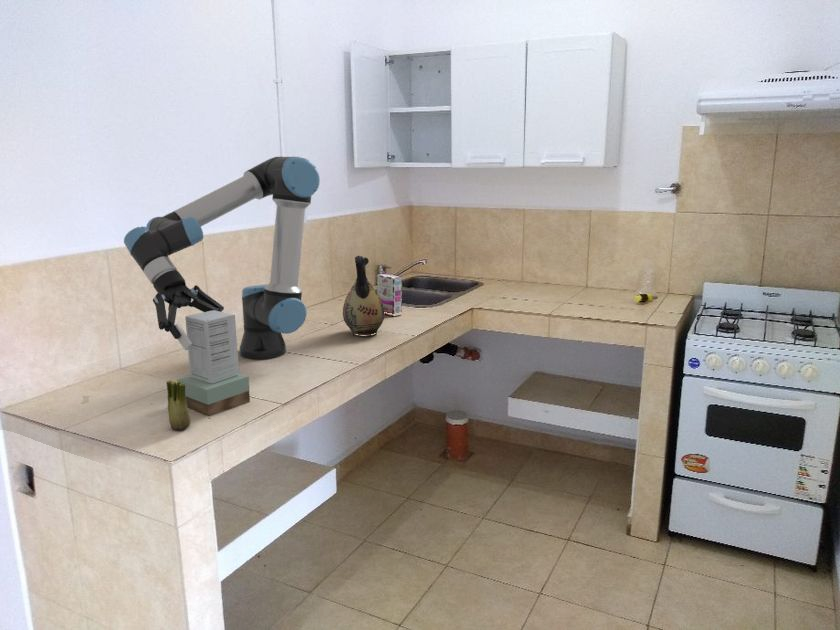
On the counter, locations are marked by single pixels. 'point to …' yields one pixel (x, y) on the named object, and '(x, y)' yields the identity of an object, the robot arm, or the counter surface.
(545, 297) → the counter surface
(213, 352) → the supplement box
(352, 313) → the ceramic jug
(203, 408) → the tower base
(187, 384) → the tower top
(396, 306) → the candy bar box
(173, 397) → the fennel bulb
